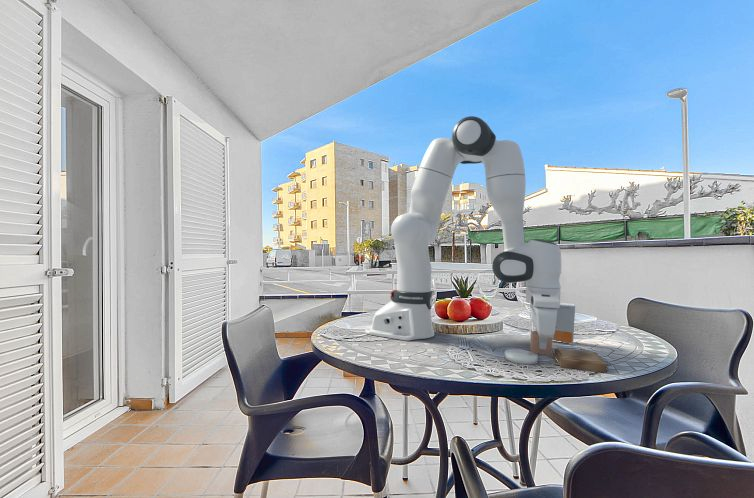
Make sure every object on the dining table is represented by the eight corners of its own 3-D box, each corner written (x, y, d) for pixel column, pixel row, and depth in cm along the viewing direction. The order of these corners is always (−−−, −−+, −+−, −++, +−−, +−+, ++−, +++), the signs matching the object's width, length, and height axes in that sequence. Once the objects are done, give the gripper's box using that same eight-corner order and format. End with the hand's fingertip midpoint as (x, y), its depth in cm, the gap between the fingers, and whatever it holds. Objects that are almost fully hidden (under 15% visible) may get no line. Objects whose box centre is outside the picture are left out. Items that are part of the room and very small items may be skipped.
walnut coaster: (560, 367, 92) (560, 358, 92) (554, 355, 101) (554, 347, 101) (606, 372, 89) (606, 363, 89) (595, 360, 98) (595, 351, 98)
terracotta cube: (532, 352, 103) (532, 335, 103) (530, 348, 108) (531, 331, 108) (551, 354, 102) (552, 336, 102) (549, 350, 107) (549, 332, 107)
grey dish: (505, 361, 95) (505, 356, 95) (504, 353, 102) (504, 347, 102) (539, 365, 92) (539, 359, 92) (535, 356, 100) (535, 351, 100)
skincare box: (551, 342, 116) (553, 303, 115) (552, 339, 119) (553, 302, 119) (573, 345, 113) (575, 305, 113) (573, 342, 117) (575, 304, 116)
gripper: (527, 291, 116) (525, 335, 116) (534, 301, 96) (532, 354, 96) (549, 293, 114) (547, 338, 114) (561, 303, 94) (559, 357, 95)
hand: (540, 345), depth 105 cm, fingers closed on terracotta cube, 5 cm apart
